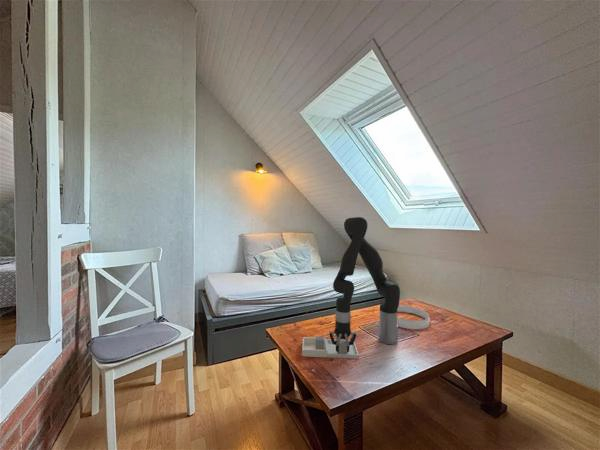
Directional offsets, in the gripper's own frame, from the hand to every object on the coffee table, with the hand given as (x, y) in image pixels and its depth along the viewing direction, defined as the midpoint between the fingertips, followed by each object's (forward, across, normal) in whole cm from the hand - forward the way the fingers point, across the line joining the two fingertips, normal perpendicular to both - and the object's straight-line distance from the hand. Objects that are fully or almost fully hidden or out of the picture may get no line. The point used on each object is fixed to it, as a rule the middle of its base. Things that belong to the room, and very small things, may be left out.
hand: (342, 351), depth 127 cm
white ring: (+2, -48, -44) cm, 65 cm away
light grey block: (+1, 0, 0) cm, 1 cm away
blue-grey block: (+1, +11, -3) cm, 12 cm away
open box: (+1, +14, -3) cm, 14 cm away
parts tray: (+1, 0, -4) cm, 4 cm away
